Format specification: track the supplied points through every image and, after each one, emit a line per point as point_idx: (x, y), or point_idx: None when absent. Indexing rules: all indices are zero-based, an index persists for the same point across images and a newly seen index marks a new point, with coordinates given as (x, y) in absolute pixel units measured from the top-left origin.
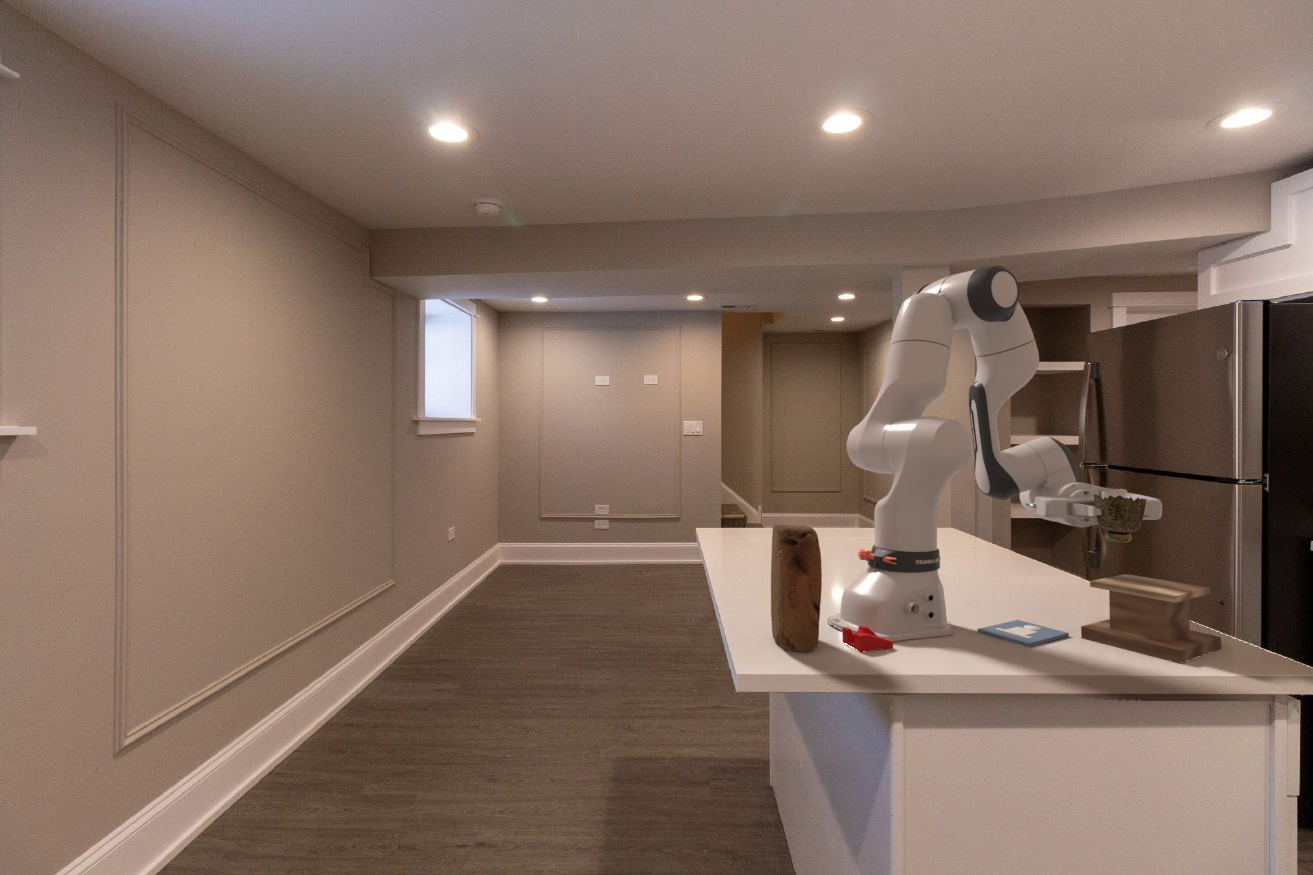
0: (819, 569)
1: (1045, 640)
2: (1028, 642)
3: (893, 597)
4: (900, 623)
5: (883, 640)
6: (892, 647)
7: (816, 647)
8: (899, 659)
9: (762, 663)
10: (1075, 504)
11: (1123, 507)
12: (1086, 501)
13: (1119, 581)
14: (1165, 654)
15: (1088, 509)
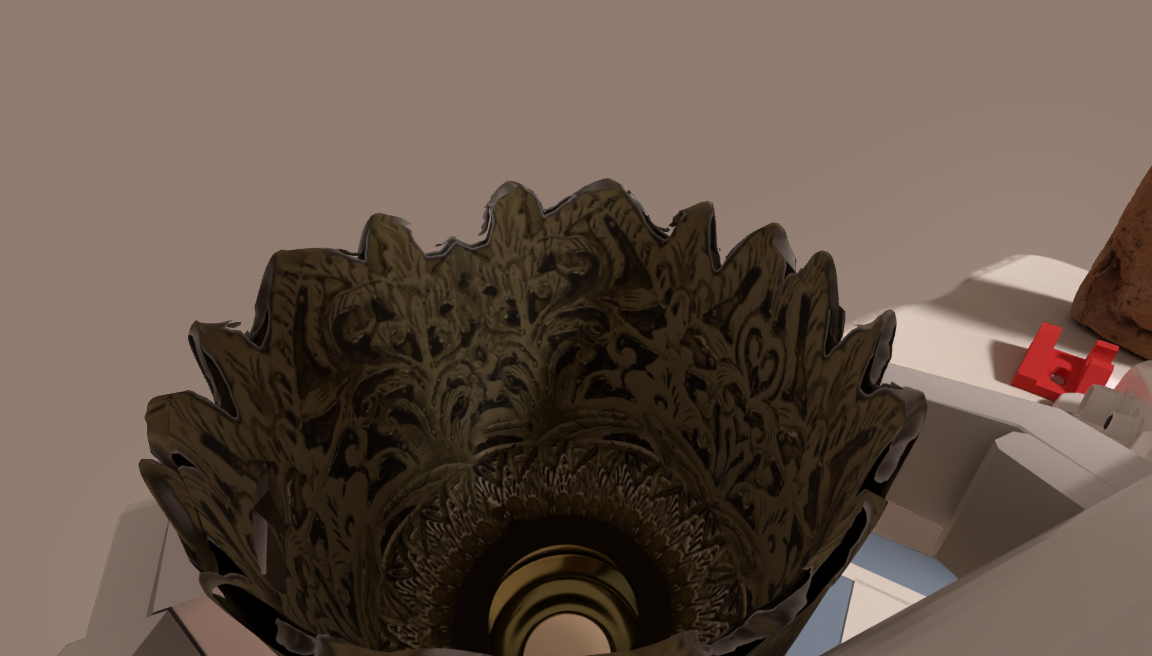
0: (1148, 174)
1: None
2: None
3: (1146, 366)
4: (1099, 431)
5: (1025, 358)
6: (1012, 381)
7: (1072, 315)
8: (954, 347)
9: (1062, 275)
10: (1052, 415)
11: (546, 277)
12: (1037, 538)
13: (581, 651)
14: None
15: None
